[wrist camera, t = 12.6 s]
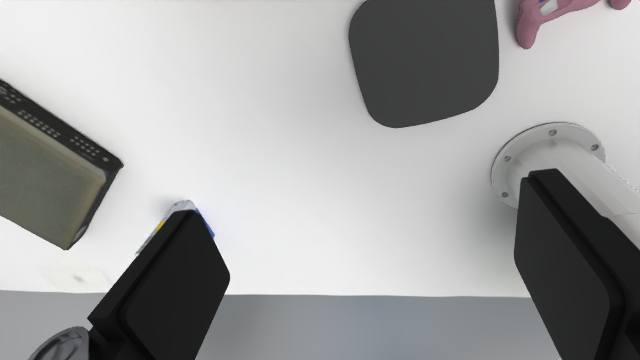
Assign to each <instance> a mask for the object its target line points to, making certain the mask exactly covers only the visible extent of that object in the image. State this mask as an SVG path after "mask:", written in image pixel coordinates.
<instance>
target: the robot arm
mask: <svg viewBox="0 0 640 360" xmlns="http://www.w3.org/2000/svg"><path fill="white" fill-rule="evenodd" d="M491 181H492V185H493V188H494V190H495V192H496V194H497V195H498V197H499V198H500V199H501V200H502V201H503V202H504V203H505V204H507V205H508V206H510V207H512V208H515V209H517V210H518V215H517V225H516V236H515V247H514V259H515V263H516V266H517V269H518V271H519V273H520V275H521V277H522V279H523V281H524V283H525V285H526V287H527V289H528V291H529V293H530V295H531V297H532V299H533V301H534V303H535V306H536V308H537V310H538V312H539V314H540V316H541V318H542V320H543V322H544V324H545V326H546V328H547V330H548V332H549V334H550V336H551V338H552V340H553V342H554V344H555V347H556V349H557V351H558V353H559V355H560V357H561V358H560V359H558V360H640V193H639V192H638V191H637V190H635V189H634V188H633V187H632V186H631V185H629V184H628V183H627V182H626V181H625V180H623V179H622V178H621V177H620V176H619V175H617V174H616V173H615V172H614V171H613V170H612V169H610V168H609V167H608V166H607V165H606V164H605V152H604V148H603V146H602V144H601V142H600V141H599V139H598V138H597V137H596V136H595V135H594V134H592V133H591V132H590V131H588V130H587V129H585V128H583V127H581V126H578V125H574V124H570V123H551V124H545V125H541V126H537V127H534V128H532V129H530V130H527V131H525V132H523V133H522V134H520V135H518V136H517V137H515V138H514V139H513V140H511V141H510V142H509V143H508V144H507V145H506V146H505V147H504V148H503V149H502V150H501V151H500V153H499V154H498V156H497V158H496V159H495V162H494V164H493V167H492V172H491ZM229 282H230V273H229V271H228V269H227V267H226V265H225V263H224V260H223V258H222V256H221V254H220V252H219V250H218V248H217V246H216V244H215V242H214V240H213V238H212V236H211V234H210V232H209V230H208V228H207V226H206V224H205V222H204V220H203V218H202V216H201V215H200V214H199V213H197V212H196V211H195V210H193V209H188V210H179V211H174V212H173V213H172V214H171V215H170V216H169V218H168V219H167V220H166V221H165V223H164V224H163V225H162V226H161V227H160V229H159V230H158V231H157V232H156V234H155V235H154V236H153V237H152V239H151V240H150V241H149V242H148V243H147V245H146V246H145V247H144V248H143V250H142V251H141V252H140V253H139V255H138V256H137V257H136V258H135V259H134V261H133V262H132V263H131V264H130V266H129V267H128V268H127V269H126V271H125V272H124V273H123V274H122V276H121V277H120V278H119V279H118V280H117V282H116V283H115V284H114V285H113V287H112V288H111V289H110V290H109V292H108V293H107V294H106V295H105V297H104V298H103V299H102V300H101V301H100V303H99V304H98V305H97V306H96V308H95V309H94V310H93V311H92V312H91V314H90V315H89V316H88V317H87V319H88V320H89V321H90V322H91V323H92V325H93V327H92V329H91V330H90V331H88V330H87V329H85V328H84V327H78V326H76V327H72V328H68V329H65V330H63V331H61V332H59V333H57V334H56V335H54V336H52V337H51V338H49V339H48V340H47V341H45V342H44V343H43V344H42V345H40V346H39V347H38V348H37V349H36V350H35V352H34V353H33V354H32V355H31V356H30V357H29V359H28V360H195V358H196V356H197V353H198V351H199V349H200V347H201V345H202V342H203V340H204V338H205V335H206V334H207V331H208V329H209V327H210V325H211V322H212V320H213V318H214V316H215V314H216V311H217V309H218V307H219V305H220V302H221V300H222V298H223V296H224V294H225V291H226V289H227V287H228V285H229Z"/></svg>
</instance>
